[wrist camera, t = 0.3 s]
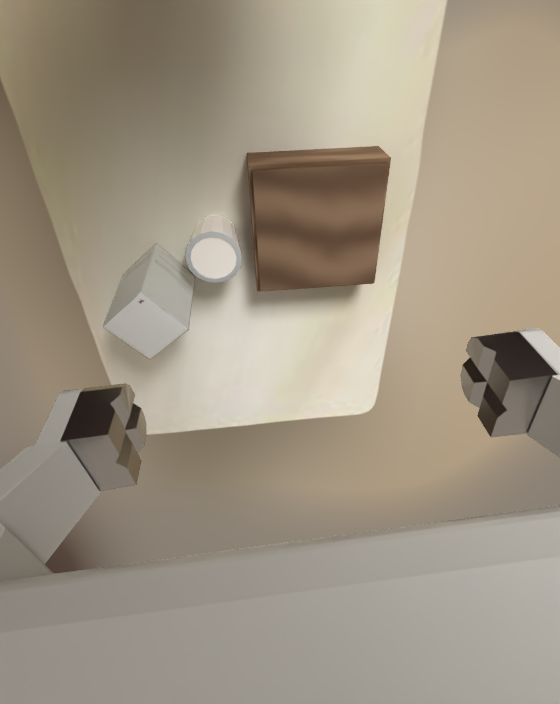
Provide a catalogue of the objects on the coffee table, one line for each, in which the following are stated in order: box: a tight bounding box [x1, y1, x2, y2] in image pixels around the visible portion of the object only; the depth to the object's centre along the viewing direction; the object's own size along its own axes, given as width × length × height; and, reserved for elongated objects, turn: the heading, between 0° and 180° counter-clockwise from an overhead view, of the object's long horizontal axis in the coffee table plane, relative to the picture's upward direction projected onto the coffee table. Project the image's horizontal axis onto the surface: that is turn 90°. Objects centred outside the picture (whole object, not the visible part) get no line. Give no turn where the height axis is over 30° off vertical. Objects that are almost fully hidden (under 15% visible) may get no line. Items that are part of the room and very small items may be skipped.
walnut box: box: [247, 146, 391, 291], centre depth 53 cm, size 16×16×6 cm
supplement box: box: [103, 244, 195, 359], centre depth 54 cm, size 7×7×13 cm
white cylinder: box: [185, 214, 242, 283], centre depth 53 cm, size 7×7×7 cm
